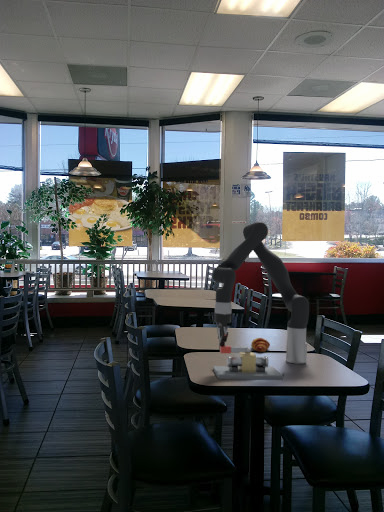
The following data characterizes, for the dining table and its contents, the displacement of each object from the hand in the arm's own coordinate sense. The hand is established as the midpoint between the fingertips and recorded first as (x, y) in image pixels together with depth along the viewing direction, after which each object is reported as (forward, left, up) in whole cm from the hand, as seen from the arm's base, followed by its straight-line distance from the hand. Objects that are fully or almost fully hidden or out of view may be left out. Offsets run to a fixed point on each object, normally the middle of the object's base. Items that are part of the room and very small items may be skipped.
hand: (221, 350), depth 206 cm
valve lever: (-5, +5, 0) cm, 7 cm away
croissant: (-30, -46, -10) cm, 56 cm away
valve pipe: (-11, +5, -8) cm, 14 cm away
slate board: (-11, +5, -9) cm, 15 cm away
